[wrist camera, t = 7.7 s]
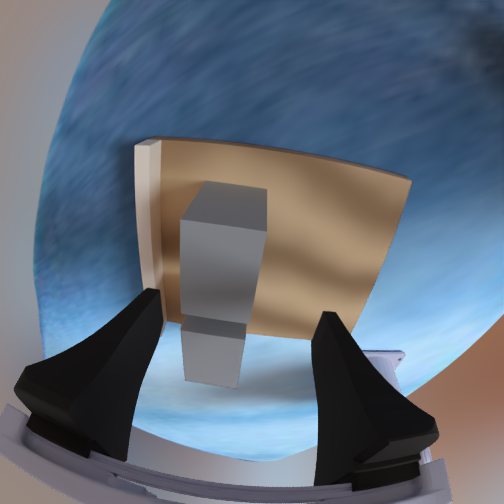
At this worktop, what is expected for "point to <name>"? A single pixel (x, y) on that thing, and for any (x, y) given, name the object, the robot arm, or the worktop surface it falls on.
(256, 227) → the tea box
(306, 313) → the shelf board
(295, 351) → the worktop surface
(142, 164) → the rail
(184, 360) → the faced box
